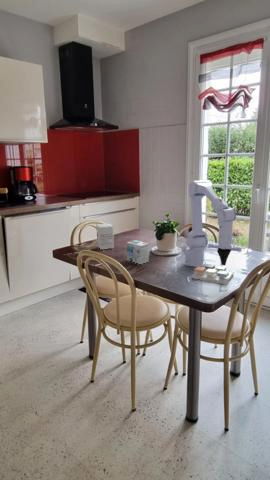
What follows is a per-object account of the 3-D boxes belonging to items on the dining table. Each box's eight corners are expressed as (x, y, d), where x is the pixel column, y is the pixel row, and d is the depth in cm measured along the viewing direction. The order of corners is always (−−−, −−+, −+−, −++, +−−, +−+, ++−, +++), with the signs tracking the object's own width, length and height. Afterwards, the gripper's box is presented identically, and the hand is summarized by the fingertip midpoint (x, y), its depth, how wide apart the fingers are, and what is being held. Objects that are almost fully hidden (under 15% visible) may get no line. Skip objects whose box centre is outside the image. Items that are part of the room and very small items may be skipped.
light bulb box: (126, 261, 181) (126, 242, 178) (135, 258, 185) (135, 239, 183) (140, 265, 173) (140, 245, 171) (149, 262, 178) (149, 243, 175)
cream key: (205, 274, 152) (205, 271, 151) (208, 271, 155) (208, 268, 155) (214, 275, 150) (214, 272, 149) (216, 272, 153) (216, 269, 153)
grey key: (204, 269, 158) (204, 266, 158) (206, 266, 161) (207, 263, 161) (212, 270, 156) (212, 267, 156) (214, 268, 160) (215, 265, 159)
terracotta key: (194, 272, 155) (194, 269, 154) (197, 269, 158) (197, 266, 157) (202, 273, 153) (202, 270, 152) (205, 270, 156) (205, 267, 156)
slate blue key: (217, 276, 149) (217, 273, 149) (219, 273, 152) (220, 270, 152) (226, 277, 147) (226, 274, 147) (228, 274, 150) (228, 271, 150)
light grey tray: (192, 278, 154) (192, 275, 154) (201, 269, 165) (201, 267, 165) (226, 284, 146) (226, 281, 146) (233, 275, 157) (233, 272, 157)
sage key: (215, 271, 155) (215, 268, 155) (217, 268, 159) (218, 265, 158) (223, 272, 153) (223, 269, 153) (226, 269, 157) (226, 266, 156)
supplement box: (97, 247, 208) (96, 224, 205) (110, 245, 211) (109, 223, 207) (99, 251, 200) (98, 227, 196) (114, 249, 203) (113, 225, 199)
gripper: (206, 235, 145) (205, 264, 149) (239, 239, 138) (237, 269, 142) (211, 232, 151) (210, 260, 155) (243, 235, 144) (241, 265, 147)
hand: (223, 264), depth 148 cm, fingers closed
